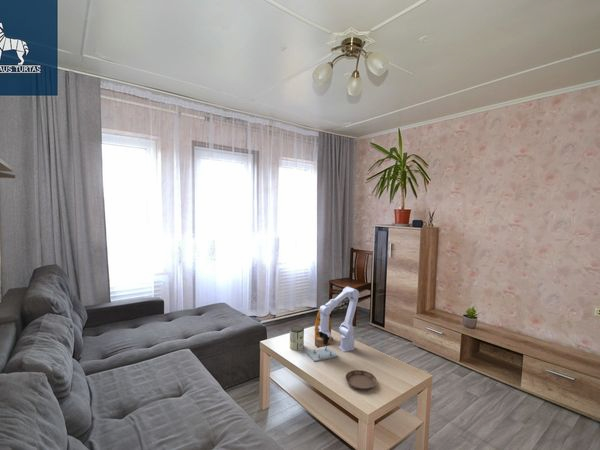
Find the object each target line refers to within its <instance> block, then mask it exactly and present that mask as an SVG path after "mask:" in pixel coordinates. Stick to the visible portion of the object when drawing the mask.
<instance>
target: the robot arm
mask: <svg viewBox="0 0 600 450" xmlns="http://www.w3.org/2000/svg"><path fill="white" fill-rule="evenodd" d="M359 296H360V292H359V290H358V289H356V288H353V287H350V286H348V285H347V286H345V287H344V288H343V289H342V291H341V292H340V293H339V294H338V295H337V296H336V297H335V298H331V299H329V301H327V302H326V303H325V304H322V305H320V307H319V309H318V310H319V312H320V315H321V319H320V326H318V329H320V330H319V331H318V333H319V335H320V337H323V339H324V345H327V344H328V340H329V338H330V337H331V336H332V332H331V333H330V331H329V316H330V315H331V313H332V311H333V310H335V308H336V307H338V304H339V303H340V302H341V301H343V300H344V299H345V298H348V300H349V302H348V307H347V309H346V314H345V318H344V321H343V322H342V323H340V326H339V327H338V333H339V334H340V335H339V336H340V345H338V346H337V347H338V349H340V350H341V351H342V352H344V353H345V352H349V351H350V352H351V351H354V350H356V349H355V337H354V329H355V328H354V326H353V320H354V316H355V313H356V309H357V306H358V301H359Z"/></svg>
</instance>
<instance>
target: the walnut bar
mask: <svg viewBox="0 0 600 450" xmlns="http://www.w3.org/2000/svg"><path fill="white" fill-rule="evenodd" d="M333 345H334V337H333V336H332V335H331V337H330V338H329V340H328V344H327V345H324V339H323V337H319V338H315V337H314V346H315V347H316V349H321V348H325V346H327V347H328V346H329V347H330V346H333Z"/></svg>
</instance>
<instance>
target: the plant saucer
mask: <svg viewBox="0 0 600 450" xmlns="http://www.w3.org/2000/svg"><path fill="white" fill-rule="evenodd" d="M345 381H346V383H347V384H348V385H349V386H350V387H351V388H353V389H354V390H357V391H364V392H365V391H370V390H372V389H373V388H374V387H375V386H376V385H377V383H378V381H377V377H376V376H375V375H374V374H373V373H371V372H369V371H367V370H363V369H362V370H361V369H354V370H350V371H347V373H346V374H345Z"/></svg>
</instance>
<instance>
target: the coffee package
mask: <svg viewBox="0 0 600 450" xmlns="http://www.w3.org/2000/svg"><path fill="white" fill-rule="evenodd" d="M320 319H321V315H320V312H319V309H318V311H317V315H316V319H315V323H314V324H315V326H314V339H315V338H319V337H320V335H319V333H318V331H319V330H320V329H318V326H320ZM332 323H333V322H332V319H331V316H330V315H329V331H330V333H331V334H332Z"/></svg>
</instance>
